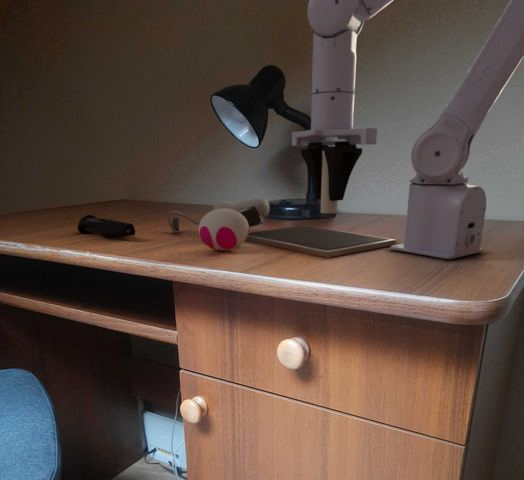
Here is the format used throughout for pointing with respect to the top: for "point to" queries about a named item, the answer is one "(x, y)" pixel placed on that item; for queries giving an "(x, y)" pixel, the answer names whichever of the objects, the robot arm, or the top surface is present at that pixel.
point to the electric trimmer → (105, 227)
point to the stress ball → (223, 229)
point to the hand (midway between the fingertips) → (329, 199)
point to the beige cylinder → (326, 193)
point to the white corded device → (249, 209)
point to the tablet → (319, 240)
